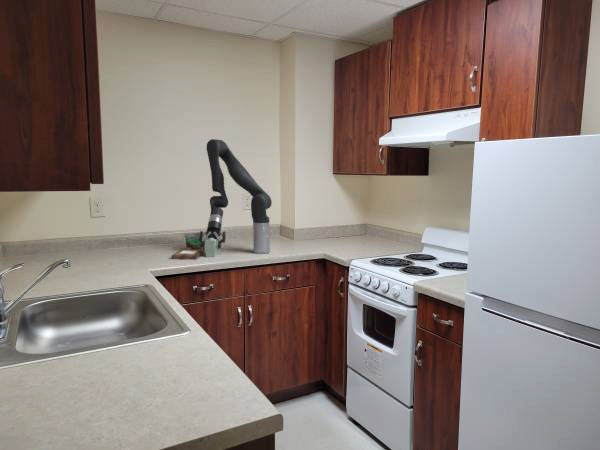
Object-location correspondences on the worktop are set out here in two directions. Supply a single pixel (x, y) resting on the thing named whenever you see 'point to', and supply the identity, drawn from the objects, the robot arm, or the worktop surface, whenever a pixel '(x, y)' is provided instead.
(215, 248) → the sage block
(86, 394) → the worktop surface
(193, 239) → the food container
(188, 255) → the base board
